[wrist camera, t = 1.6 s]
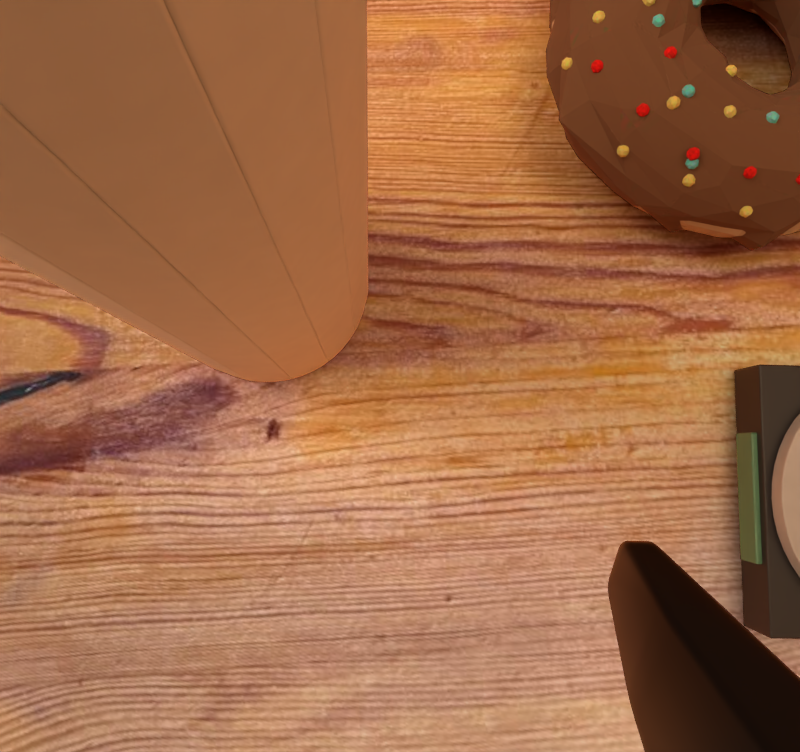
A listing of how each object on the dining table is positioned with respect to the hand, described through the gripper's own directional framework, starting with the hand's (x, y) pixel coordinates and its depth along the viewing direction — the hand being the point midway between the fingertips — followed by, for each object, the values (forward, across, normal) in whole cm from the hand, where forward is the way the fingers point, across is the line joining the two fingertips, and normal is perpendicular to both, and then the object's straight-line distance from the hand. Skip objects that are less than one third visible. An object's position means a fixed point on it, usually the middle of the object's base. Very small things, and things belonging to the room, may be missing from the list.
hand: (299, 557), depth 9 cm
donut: (+21, -13, -3) cm, 25 cm away
